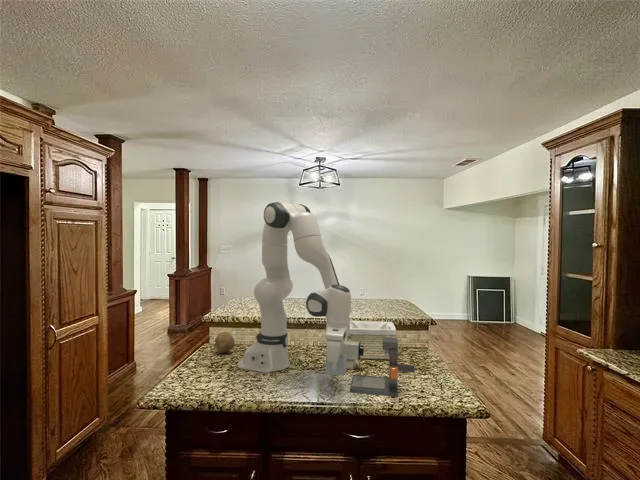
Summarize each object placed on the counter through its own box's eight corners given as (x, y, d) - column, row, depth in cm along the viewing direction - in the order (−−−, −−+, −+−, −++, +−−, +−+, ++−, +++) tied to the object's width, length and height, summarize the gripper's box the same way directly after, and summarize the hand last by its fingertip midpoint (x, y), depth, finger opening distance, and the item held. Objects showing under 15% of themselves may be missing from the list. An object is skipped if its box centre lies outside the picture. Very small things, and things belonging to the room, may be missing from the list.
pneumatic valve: (362, 370, 151) (363, 342, 151) (335, 368, 154) (335, 340, 154) (363, 366, 157) (364, 339, 157) (337, 364, 159) (337, 337, 159)
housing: (325, 373, 132) (326, 356, 132) (327, 368, 137) (328, 351, 136) (344, 376, 130) (344, 358, 130) (345, 370, 135) (346, 354, 135)
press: (349, 392, 130) (350, 342, 130) (353, 377, 144) (353, 332, 144) (414, 398, 126) (415, 347, 126) (412, 382, 140) (412, 336, 140)
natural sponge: (232, 349, 178) (233, 329, 178) (236, 354, 170) (236, 333, 170) (213, 351, 175) (214, 330, 175) (216, 357, 167) (216, 335, 166)
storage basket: (344, 359, 166) (344, 327, 166) (345, 348, 182) (345, 319, 182) (396, 361, 164) (396, 329, 163) (392, 350, 180) (393, 321, 180)
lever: (389, 380, 124) (389, 368, 124) (389, 373, 131) (389, 362, 131) (398, 380, 124) (398, 369, 124) (397, 373, 130) (397, 362, 130)
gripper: (333, 321, 144) (332, 355, 144) (324, 335, 124) (322, 375, 124) (349, 323, 143) (347, 357, 143) (342, 337, 123) (340, 377, 123)
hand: (335, 366), depth 133 cm, fingers closed on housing, 5 cm apart
